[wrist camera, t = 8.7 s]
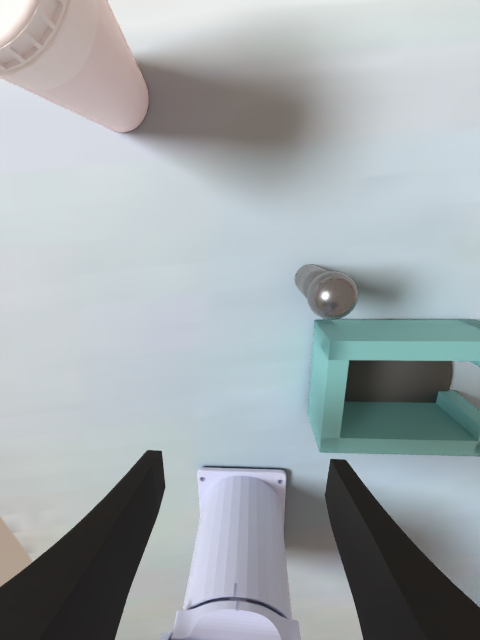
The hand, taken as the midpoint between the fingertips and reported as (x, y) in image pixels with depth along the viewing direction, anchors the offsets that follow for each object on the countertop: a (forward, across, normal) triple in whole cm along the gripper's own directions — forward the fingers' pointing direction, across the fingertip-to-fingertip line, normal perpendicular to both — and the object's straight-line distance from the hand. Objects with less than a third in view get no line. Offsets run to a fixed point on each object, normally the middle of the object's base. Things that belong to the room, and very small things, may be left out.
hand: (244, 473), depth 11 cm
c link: (+10, -10, 0) cm, 14 cm away
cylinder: (+10, -4, -7) cm, 13 cm away
